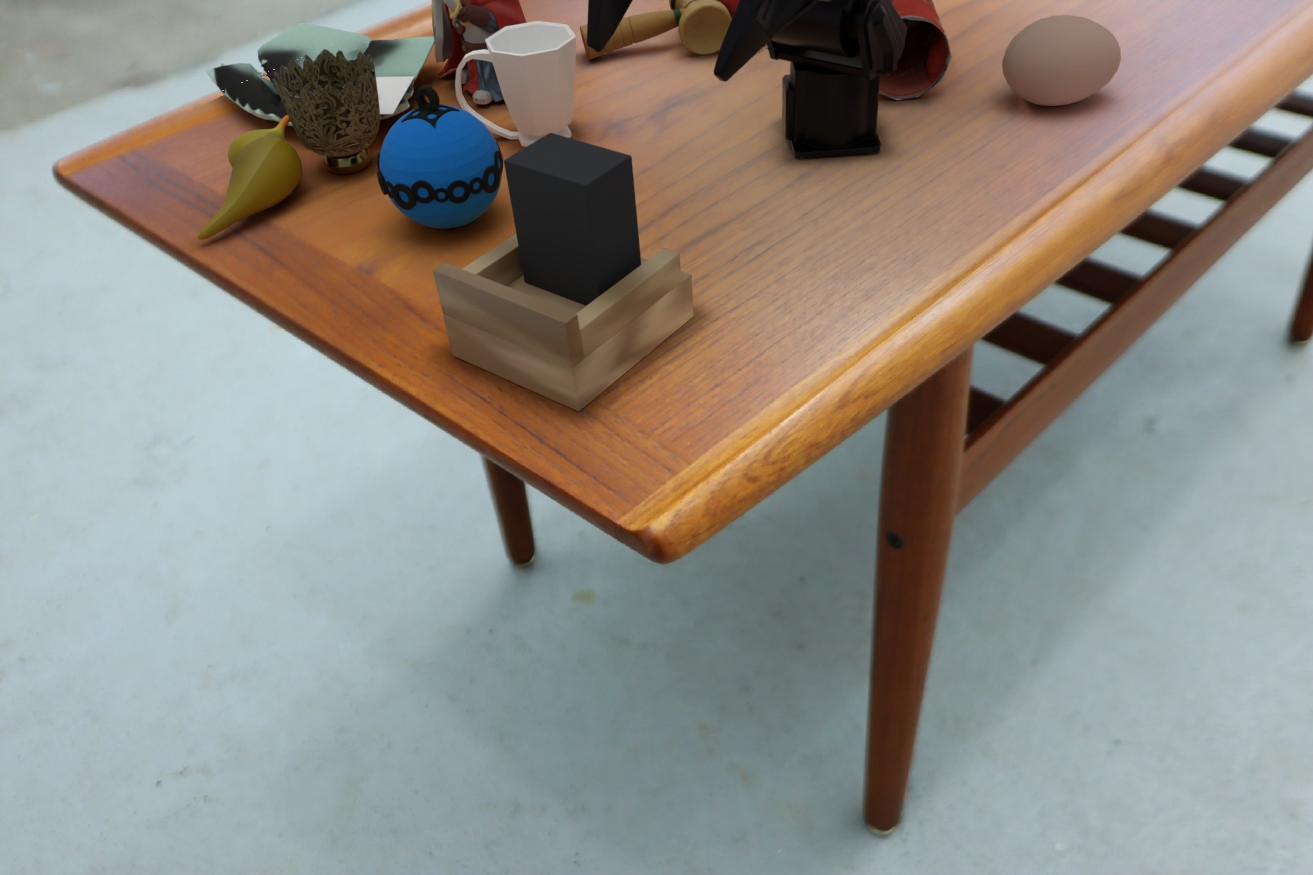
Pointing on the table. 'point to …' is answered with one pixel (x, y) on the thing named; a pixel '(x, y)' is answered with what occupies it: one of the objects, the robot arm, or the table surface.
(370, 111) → the cup
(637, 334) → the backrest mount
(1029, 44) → the egg
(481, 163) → the ornament
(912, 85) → the beverage can
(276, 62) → the cloth
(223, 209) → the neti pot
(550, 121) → the cup
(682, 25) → the kendama
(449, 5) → the figurine
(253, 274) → the table surface
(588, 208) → the black rectangular block
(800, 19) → the robot arm
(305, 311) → the table surface
